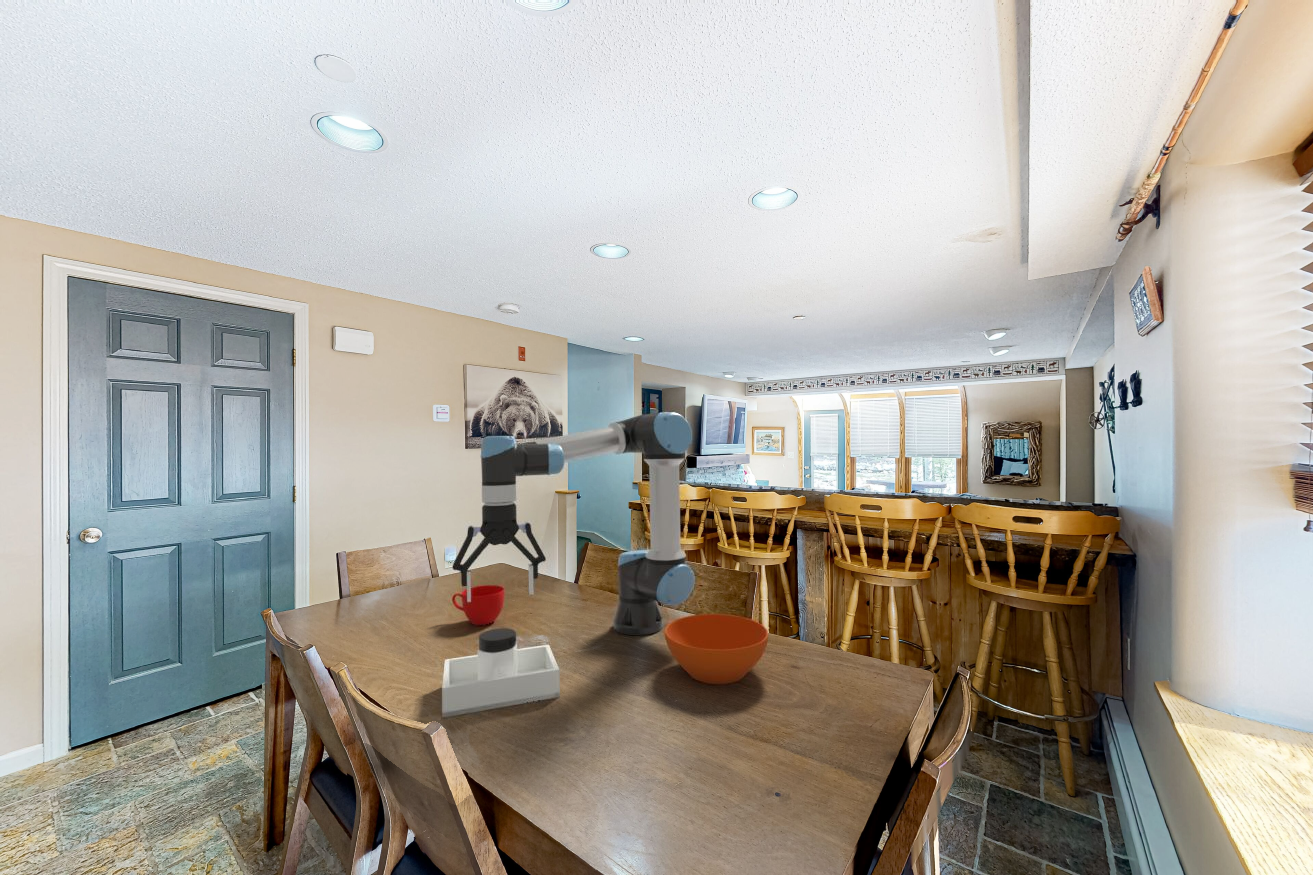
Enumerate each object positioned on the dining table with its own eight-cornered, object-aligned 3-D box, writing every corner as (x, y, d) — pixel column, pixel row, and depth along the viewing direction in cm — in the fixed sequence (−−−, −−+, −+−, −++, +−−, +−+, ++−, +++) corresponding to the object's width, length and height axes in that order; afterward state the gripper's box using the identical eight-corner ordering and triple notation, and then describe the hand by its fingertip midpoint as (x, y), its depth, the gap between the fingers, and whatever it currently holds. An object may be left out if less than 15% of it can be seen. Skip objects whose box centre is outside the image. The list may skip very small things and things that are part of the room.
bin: (549, 668, 129) (548, 644, 129) (559, 696, 114) (559, 669, 114) (445, 685, 121) (445, 659, 121) (442, 717, 106) (442, 688, 106)
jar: (483, 700, 111) (483, 644, 111) (472, 686, 118) (472, 633, 118) (523, 688, 116) (523, 634, 116) (511, 675, 123) (510, 625, 123)
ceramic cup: (463, 614, 172) (462, 584, 173) (511, 616, 170) (511, 585, 170) (441, 628, 160) (441, 595, 160) (493, 629, 157) (493, 596, 157)
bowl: (778, 659, 132) (778, 620, 133) (754, 704, 110) (753, 657, 110) (687, 645, 143) (686, 609, 143) (647, 683, 120) (647, 640, 120)
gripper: (551, 498, 126) (553, 586, 126) (441, 504, 117) (442, 598, 117) (556, 501, 119) (558, 594, 119) (439, 508, 110) (440, 608, 110)
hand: (500, 596), depth 118 cm, fingers open, 13 cm apart
